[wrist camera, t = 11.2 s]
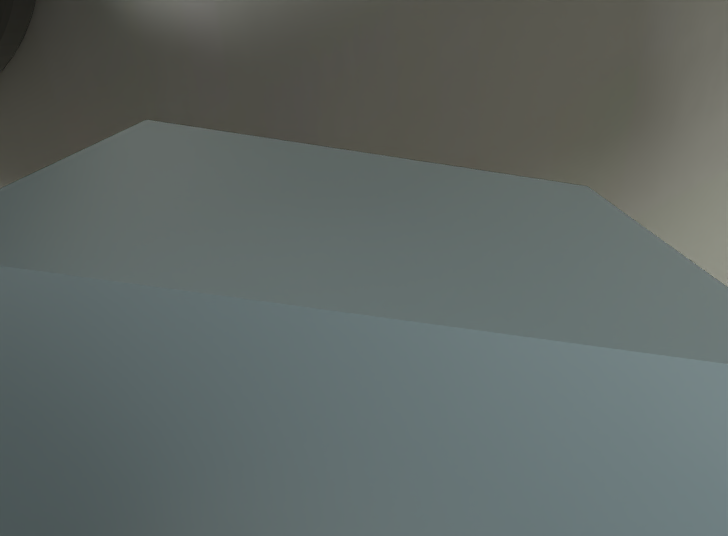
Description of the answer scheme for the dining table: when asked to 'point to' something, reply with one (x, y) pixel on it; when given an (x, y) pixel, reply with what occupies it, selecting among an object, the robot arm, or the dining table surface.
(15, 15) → the robot arm
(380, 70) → the dining table surface
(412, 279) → the grey-blue flat-faced block
